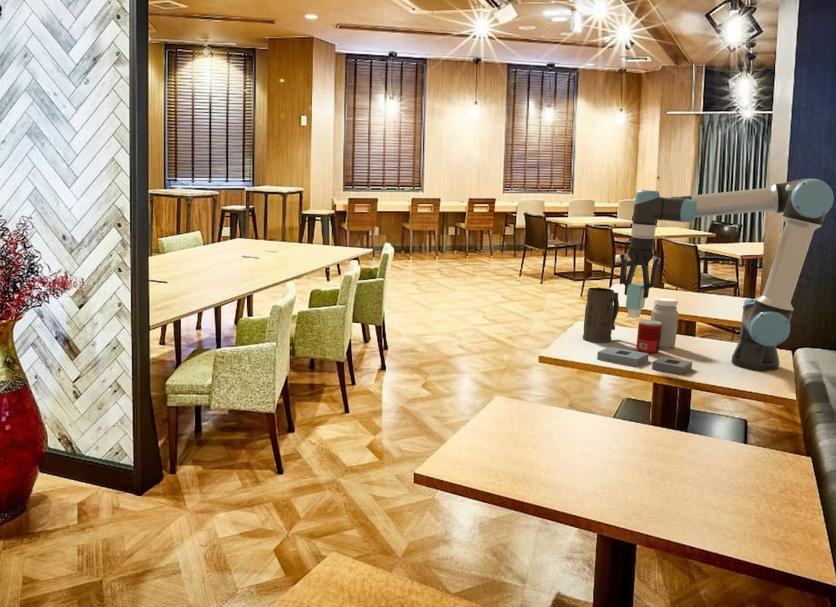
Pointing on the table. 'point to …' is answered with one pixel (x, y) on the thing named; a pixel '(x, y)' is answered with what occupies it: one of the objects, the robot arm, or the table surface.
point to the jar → (666, 320)
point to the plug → (634, 300)
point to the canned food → (649, 336)
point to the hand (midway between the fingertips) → (634, 306)
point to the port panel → (623, 356)
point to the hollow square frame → (672, 365)
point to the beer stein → (600, 314)
